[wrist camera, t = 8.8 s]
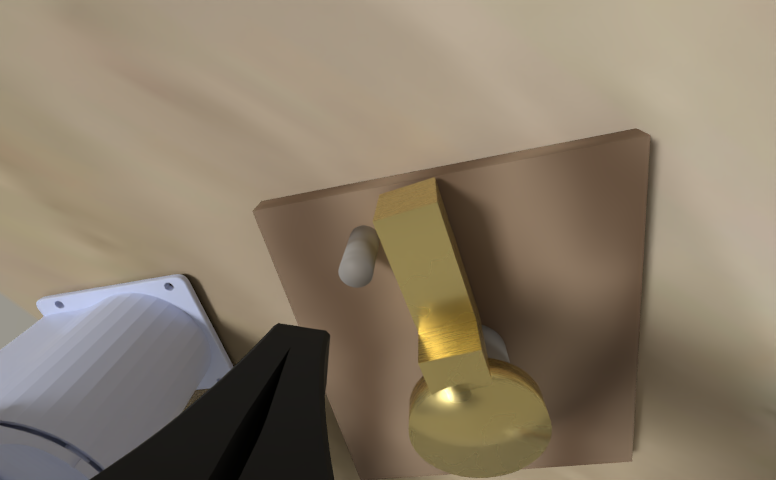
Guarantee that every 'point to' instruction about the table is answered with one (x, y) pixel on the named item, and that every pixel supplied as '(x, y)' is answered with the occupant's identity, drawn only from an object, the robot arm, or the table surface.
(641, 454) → the table surface
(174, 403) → the robot arm
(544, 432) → the door handle
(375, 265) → the base
